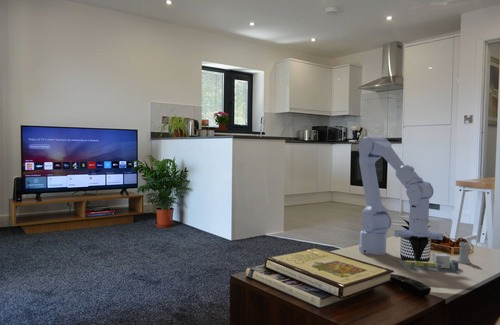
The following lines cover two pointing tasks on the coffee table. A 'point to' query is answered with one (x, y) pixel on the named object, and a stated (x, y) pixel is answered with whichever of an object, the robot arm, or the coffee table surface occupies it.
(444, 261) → the sleeve
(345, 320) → the coffee table surface
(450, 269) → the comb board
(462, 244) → the rook chess piece
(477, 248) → the coffee table surface
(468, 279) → the coffee table surface
